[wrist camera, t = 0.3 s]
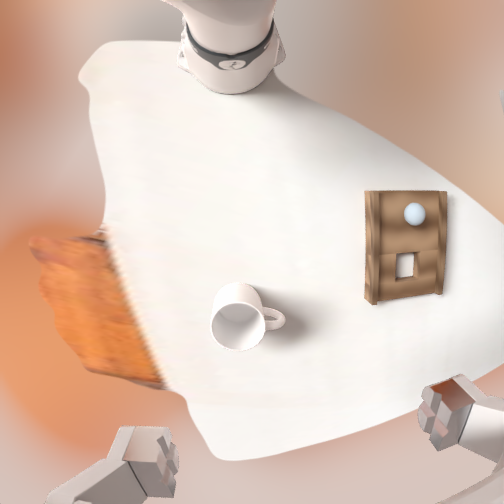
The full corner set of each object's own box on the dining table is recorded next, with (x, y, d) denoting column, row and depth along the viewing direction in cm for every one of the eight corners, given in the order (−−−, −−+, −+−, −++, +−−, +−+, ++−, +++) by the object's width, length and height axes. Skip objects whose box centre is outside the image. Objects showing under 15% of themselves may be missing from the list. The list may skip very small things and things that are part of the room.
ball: (399, 202, 52) (410, 203, 48) (417, 201, 52) (429, 203, 48) (400, 224, 53) (411, 227, 49) (418, 223, 53) (429, 226, 49)
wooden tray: (364, 190, 54) (373, 191, 50) (435, 190, 54) (446, 191, 51) (364, 298, 58) (372, 305, 54) (432, 288, 58) (442, 294, 55)
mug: (284, 286, 57) (294, 307, 47) (277, 328, 58) (284, 356, 48) (217, 278, 56) (213, 298, 46) (212, 321, 57) (207, 348, 47)
